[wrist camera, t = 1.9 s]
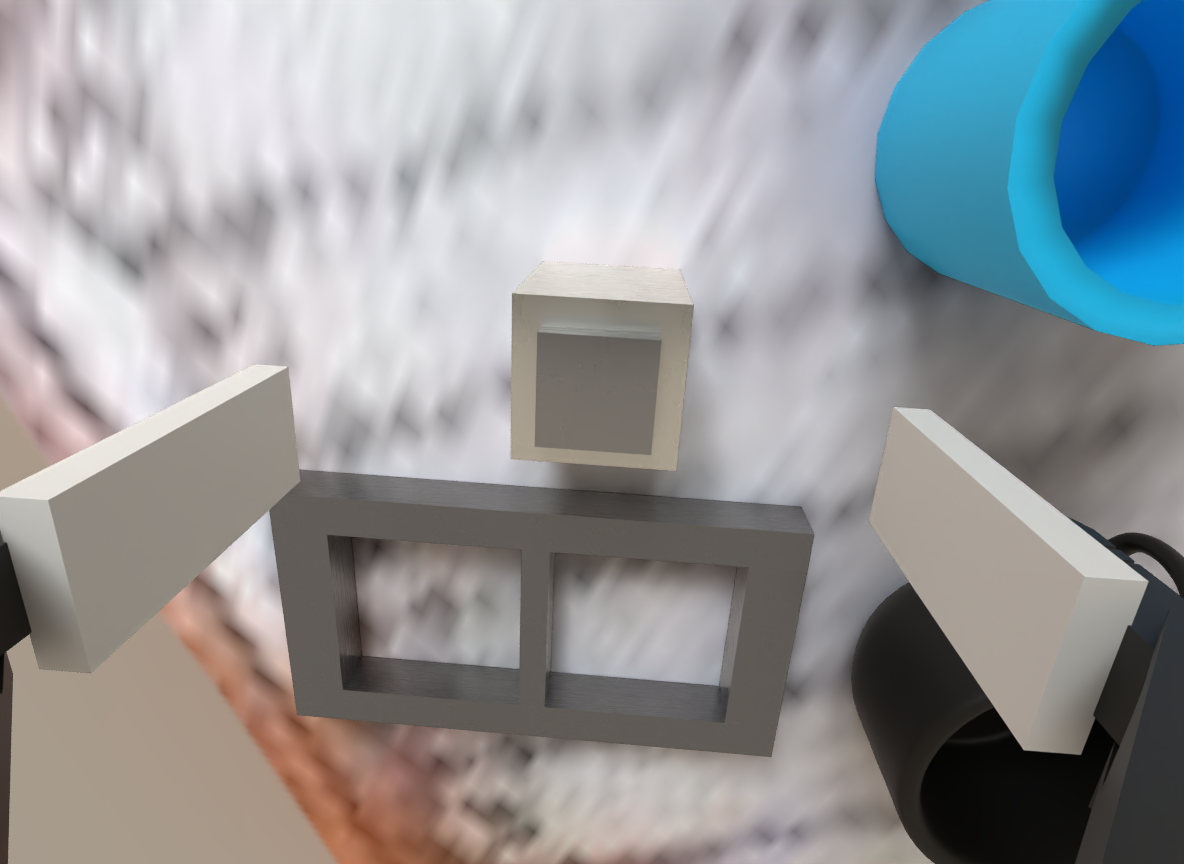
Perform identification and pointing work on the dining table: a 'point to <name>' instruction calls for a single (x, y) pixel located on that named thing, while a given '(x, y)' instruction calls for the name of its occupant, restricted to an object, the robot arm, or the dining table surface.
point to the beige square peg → (599, 365)
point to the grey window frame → (539, 609)
